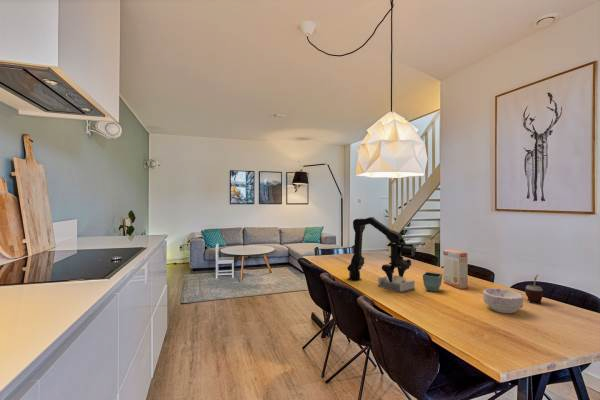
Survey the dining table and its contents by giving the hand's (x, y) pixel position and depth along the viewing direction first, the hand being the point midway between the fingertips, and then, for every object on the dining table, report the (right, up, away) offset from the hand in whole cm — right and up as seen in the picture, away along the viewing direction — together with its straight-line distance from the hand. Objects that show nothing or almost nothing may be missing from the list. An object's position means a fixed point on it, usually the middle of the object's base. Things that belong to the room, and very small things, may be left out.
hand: (396, 280), depth 173 cm
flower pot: (+19, -4, -5) cm, 20 cm away
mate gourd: (+61, -4, -26) cm, 66 cm away
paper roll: (0, 0, 0) cm, 0 cm away
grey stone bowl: (+38, -4, -36) cm, 52 cm away
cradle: (0, -4, 0) cm, 4 cm away
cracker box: (+37, -4, +3) cm, 37 cm away
